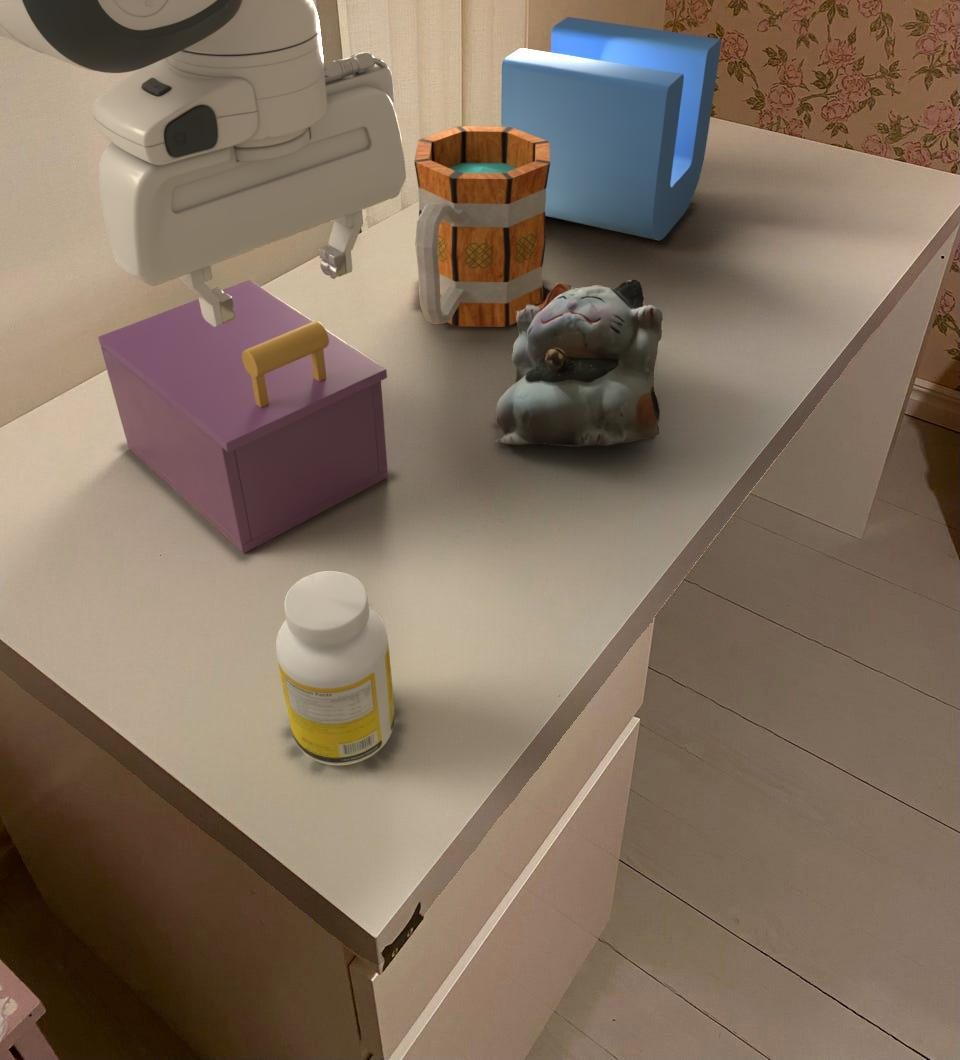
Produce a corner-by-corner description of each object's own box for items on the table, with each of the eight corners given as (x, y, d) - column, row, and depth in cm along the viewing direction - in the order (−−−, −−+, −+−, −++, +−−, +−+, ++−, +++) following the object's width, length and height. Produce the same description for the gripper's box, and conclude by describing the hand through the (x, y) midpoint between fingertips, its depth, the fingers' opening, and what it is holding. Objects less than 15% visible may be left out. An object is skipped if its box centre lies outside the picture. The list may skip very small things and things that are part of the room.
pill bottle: (353, 673, 69) (337, 543, 62) (416, 730, 66) (408, 600, 58) (271, 726, 66) (244, 596, 58) (334, 790, 62) (313, 660, 55)
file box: (388, 477, 85) (381, 374, 78) (243, 554, 78) (221, 448, 72) (266, 386, 95) (250, 288, 88) (128, 447, 88) (100, 346, 81)
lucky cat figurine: (463, 441, 88) (468, 272, 85) (546, 431, 98) (554, 278, 95) (613, 463, 79) (624, 274, 76) (690, 449, 88) (703, 280, 85)
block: (561, 168, 132) (570, 15, 120) (698, 195, 126) (722, 37, 114) (499, 224, 120) (501, 60, 108) (647, 257, 114) (667, 87, 102)
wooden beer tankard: (450, 255, 114) (448, 116, 104) (566, 279, 110) (575, 137, 100) (364, 341, 101) (352, 191, 91) (492, 372, 97) (494, 219, 87)
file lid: (387, 378, 78) (383, 315, 74) (228, 453, 71) (215, 387, 68) (250, 287, 88) (241, 228, 85) (99, 345, 81) (83, 283, 78)
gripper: (358, 34, 68) (374, 233, 77) (63, 111, 58) (121, 330, 67) (420, 57, 64) (428, 262, 74) (117, 144, 54) (171, 370, 63)
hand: (280, 296), depth 70 cm, fingers open, 8 cm apart
